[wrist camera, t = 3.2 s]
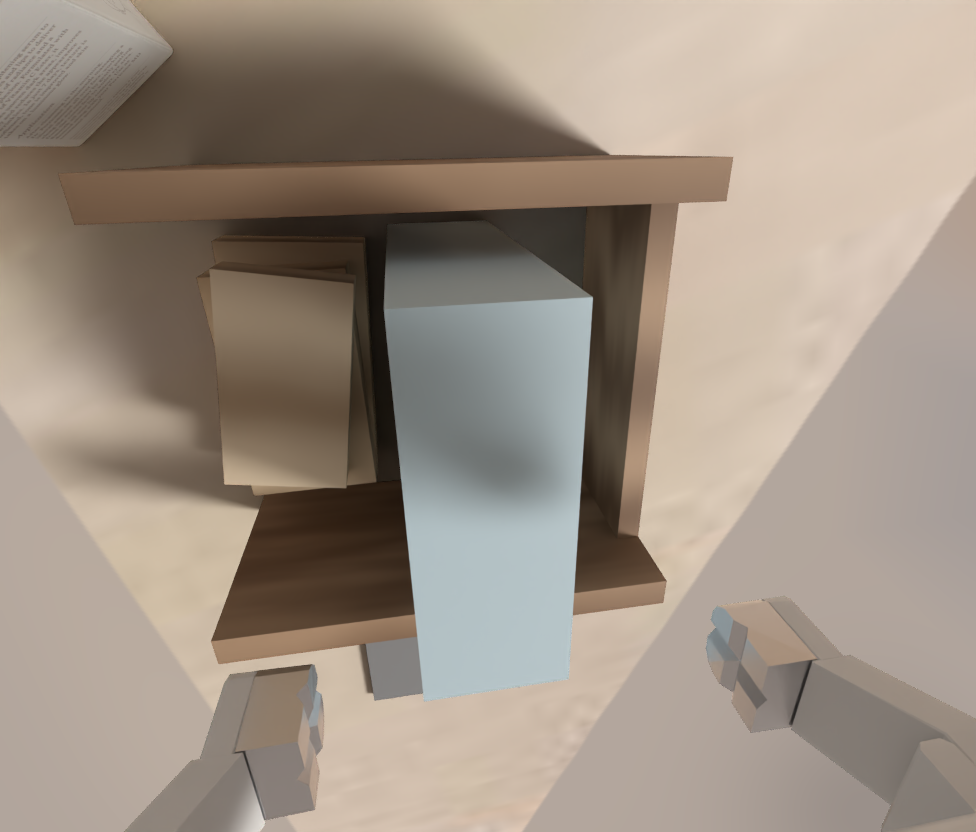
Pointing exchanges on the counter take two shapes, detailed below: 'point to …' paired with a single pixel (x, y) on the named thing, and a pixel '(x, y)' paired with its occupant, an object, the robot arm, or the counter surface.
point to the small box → (70, 67)
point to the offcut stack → (292, 361)
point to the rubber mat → (395, 668)
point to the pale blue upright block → (487, 450)
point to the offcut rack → (379, 506)
